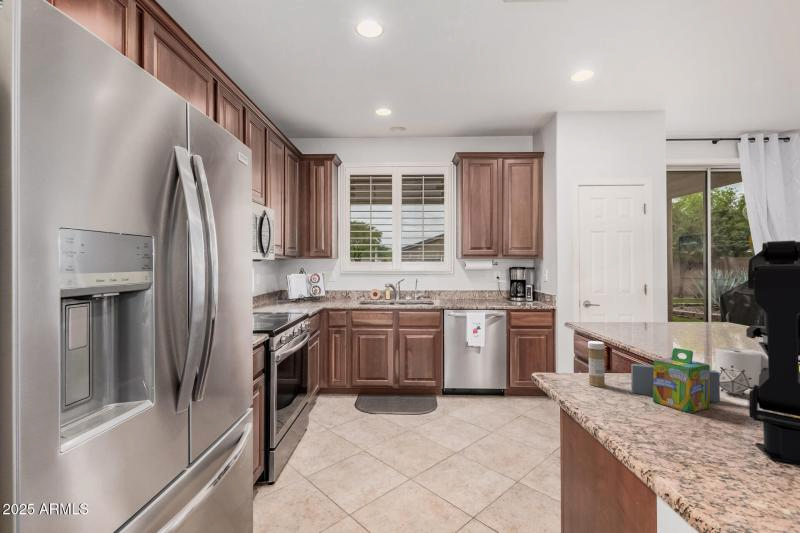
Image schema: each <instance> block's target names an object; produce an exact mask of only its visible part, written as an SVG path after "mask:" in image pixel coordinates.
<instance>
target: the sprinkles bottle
mask: <svg viewBox="0 0 800 533" xmlns="http://www.w3.org/2000/svg"><path fill="white" fill-rule="evenodd" d="M587 348H588V376H589V377H588V384H589V385H590V386H593V387H601V388H602V387H605V386H606V384H605V375H606V374H605V373H606V371H605V348H606V347H605V342H603V341H599V340H590V341H589V340H588V342H587Z"/></svg>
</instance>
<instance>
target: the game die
mask: <svg viewBox="0 0 800 533" xmlns="http://www.w3.org/2000/svg"><path fill="white" fill-rule="evenodd" d="M720 368H721V369H722V370H721V371H720V372H719V376H720V392H724V391H725V392H727V393H729V394H731V396H732V398H734V397H735V395H736V394H742V395H743V396H744V395H745V396H746V393H745V392H746V391H748V390H749V389H750V390H753V388H754V387H750V384H749V379H752V378H748V377H747V376H746V375H745V374H744V372H745V370H742V371H740V370H737V369H734V368H733V365H732V366H731V368H726V369H723V368H722V367H720Z"/></svg>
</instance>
